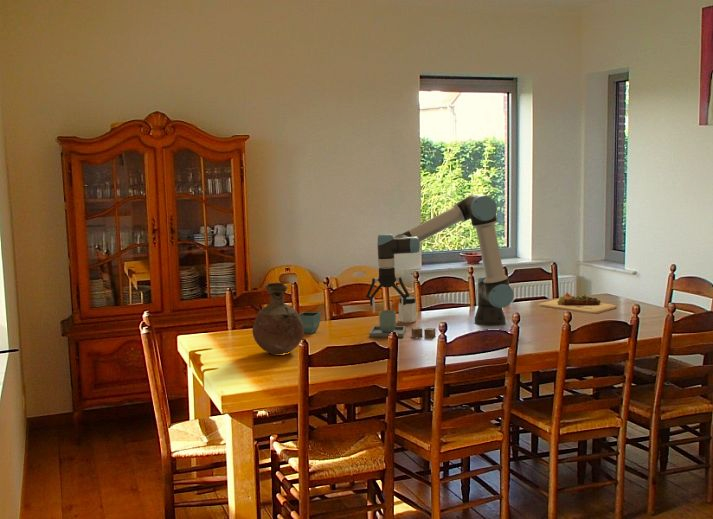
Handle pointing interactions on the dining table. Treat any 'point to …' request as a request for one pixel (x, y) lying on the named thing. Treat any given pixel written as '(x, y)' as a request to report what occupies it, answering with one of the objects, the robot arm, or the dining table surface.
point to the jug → (277, 323)
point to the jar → (408, 310)
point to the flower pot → (310, 321)
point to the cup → (387, 321)
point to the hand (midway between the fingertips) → (388, 312)
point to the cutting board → (578, 304)
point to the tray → (378, 333)
